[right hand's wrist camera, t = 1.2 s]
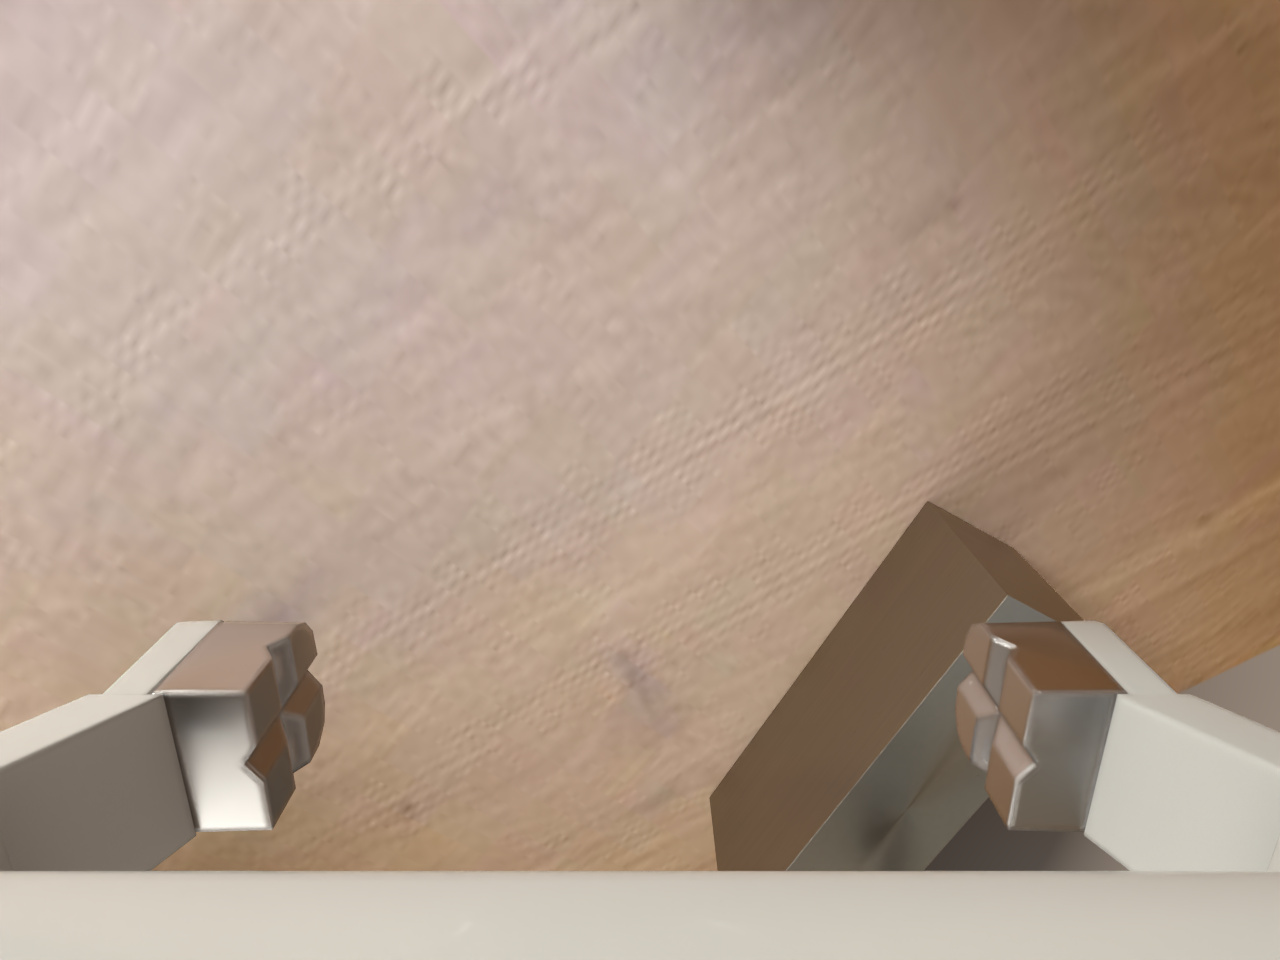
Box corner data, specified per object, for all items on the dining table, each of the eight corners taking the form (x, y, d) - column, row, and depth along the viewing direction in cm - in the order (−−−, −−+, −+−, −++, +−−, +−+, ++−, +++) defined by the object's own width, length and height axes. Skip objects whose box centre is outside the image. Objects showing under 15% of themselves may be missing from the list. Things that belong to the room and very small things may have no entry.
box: (927, 500, 49) (1008, 594, 39) (1014, 548, 50) (1116, 653, 40) (709, 797, 57) (725, 945, 46) (788, 833, 58) (822, 985, 48)
